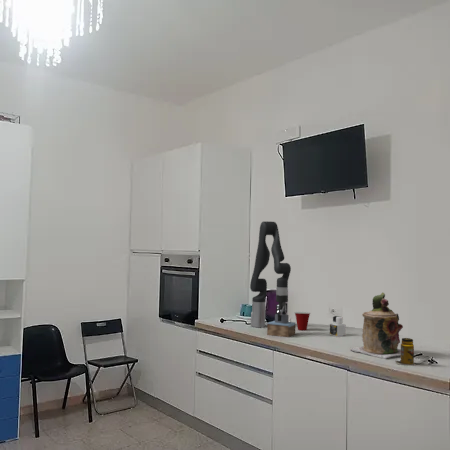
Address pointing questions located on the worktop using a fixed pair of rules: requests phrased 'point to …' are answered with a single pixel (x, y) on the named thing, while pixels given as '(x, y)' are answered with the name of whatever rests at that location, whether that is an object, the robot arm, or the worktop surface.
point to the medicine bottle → (337, 326)
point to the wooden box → (280, 330)
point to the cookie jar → (380, 330)
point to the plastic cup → (302, 320)
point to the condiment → (407, 352)
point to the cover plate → (282, 321)
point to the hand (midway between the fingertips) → (281, 320)
